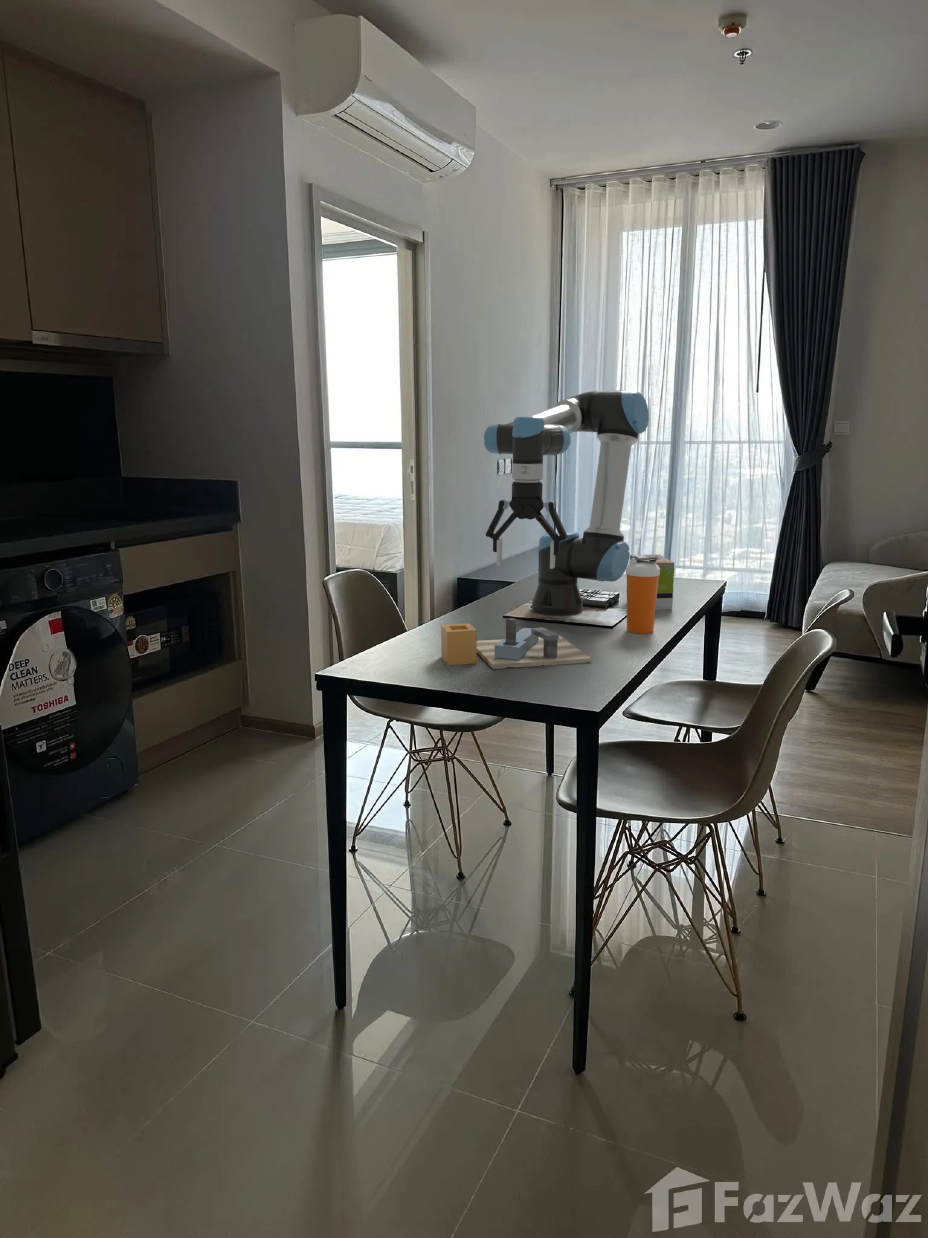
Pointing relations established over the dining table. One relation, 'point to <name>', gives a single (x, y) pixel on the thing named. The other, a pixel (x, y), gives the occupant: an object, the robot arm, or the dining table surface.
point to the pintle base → (533, 649)
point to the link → (520, 649)
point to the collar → (458, 644)
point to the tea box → (663, 581)
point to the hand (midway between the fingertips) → (525, 566)
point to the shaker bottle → (641, 594)
